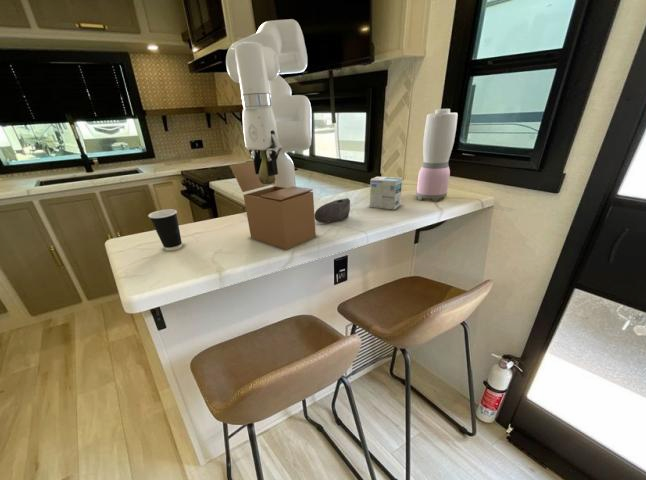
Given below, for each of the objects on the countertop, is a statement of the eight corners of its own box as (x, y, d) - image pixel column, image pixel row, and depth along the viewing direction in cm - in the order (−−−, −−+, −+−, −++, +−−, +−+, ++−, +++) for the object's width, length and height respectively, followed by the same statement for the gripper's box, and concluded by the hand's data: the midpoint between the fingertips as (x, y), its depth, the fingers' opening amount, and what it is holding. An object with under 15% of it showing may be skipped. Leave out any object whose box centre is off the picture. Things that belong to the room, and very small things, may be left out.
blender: (441, 202, 124) (456, 109, 107) (412, 199, 130) (421, 110, 113) (450, 193, 135) (465, 107, 118) (423, 191, 141) (433, 109, 124)
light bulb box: (400, 205, 123) (403, 177, 118) (394, 210, 119) (396, 180, 113) (375, 203, 128) (377, 175, 123) (369, 207, 124) (370, 179, 118)
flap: (243, 191, 93) (242, 192, 94) (275, 183, 101) (274, 184, 101) (230, 165, 92) (229, 165, 92) (263, 158, 100) (263, 159, 100)
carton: (251, 238, 101) (242, 191, 93) (280, 227, 109) (275, 183, 101) (286, 249, 91) (280, 198, 83) (315, 236, 99) (312, 189, 91)
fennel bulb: (271, 185, 91) (264, 140, 84) (256, 185, 92) (249, 140, 86) (279, 181, 95) (273, 138, 89) (264, 181, 97) (258, 138, 90)
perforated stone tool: (318, 226, 107) (317, 206, 103) (311, 222, 111) (310, 203, 107) (355, 218, 112) (355, 199, 109) (347, 215, 116) (347, 196, 113)
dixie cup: (156, 248, 98) (144, 213, 92) (181, 240, 102) (170, 207, 97) (165, 254, 93) (153, 218, 87) (191, 246, 97) (180, 212, 92)
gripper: (227, 104, 85) (239, 174, 95) (266, 101, 75) (276, 179, 85) (248, 103, 90) (258, 170, 100) (288, 100, 80) (295, 174, 90)
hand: (266, 173), depth 92 cm, fingers closed on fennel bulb, 5 cm apart
